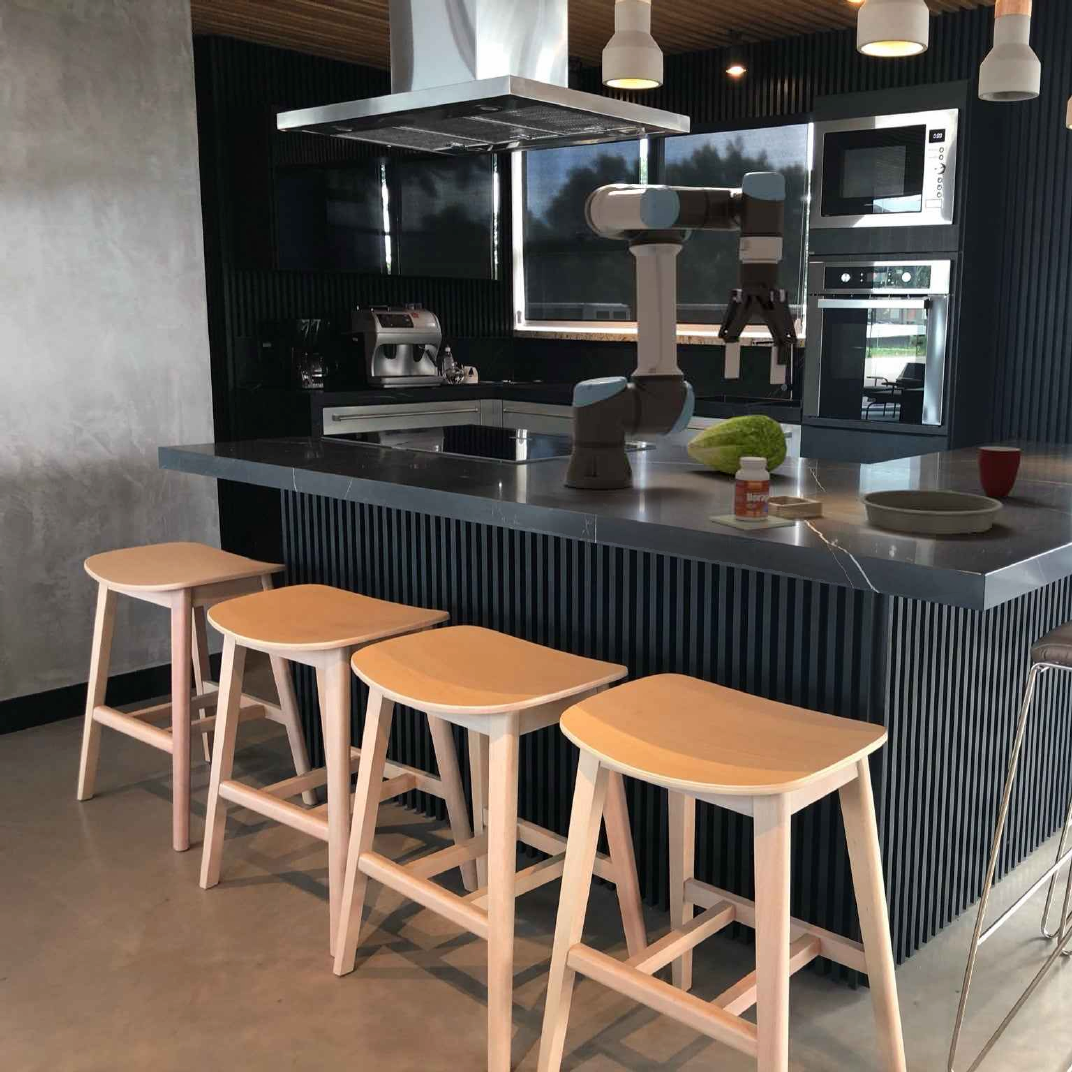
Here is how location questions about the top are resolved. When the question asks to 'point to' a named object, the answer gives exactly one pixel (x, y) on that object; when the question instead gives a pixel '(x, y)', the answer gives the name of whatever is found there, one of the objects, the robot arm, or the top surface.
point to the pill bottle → (752, 490)
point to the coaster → (752, 522)
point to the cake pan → (930, 511)
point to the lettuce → (739, 443)
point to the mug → (998, 470)
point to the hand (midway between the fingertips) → (753, 380)
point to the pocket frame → (793, 507)
